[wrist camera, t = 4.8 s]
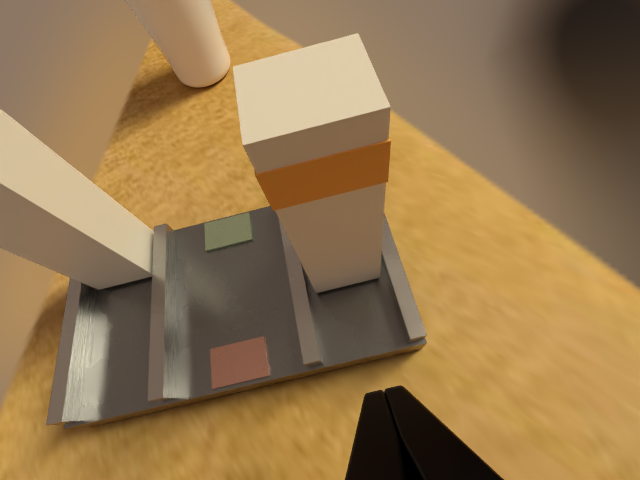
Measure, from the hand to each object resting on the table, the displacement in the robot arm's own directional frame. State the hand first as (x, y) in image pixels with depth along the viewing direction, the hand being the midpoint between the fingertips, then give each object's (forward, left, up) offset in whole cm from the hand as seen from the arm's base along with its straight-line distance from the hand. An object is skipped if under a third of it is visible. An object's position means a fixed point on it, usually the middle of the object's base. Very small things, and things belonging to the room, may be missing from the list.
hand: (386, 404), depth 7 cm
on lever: (+2, +17, -9) cm, 19 cm away
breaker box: (+3, +9, -11) cm, 15 cm away
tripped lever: (+6, +4, -9) cm, 12 cm away
